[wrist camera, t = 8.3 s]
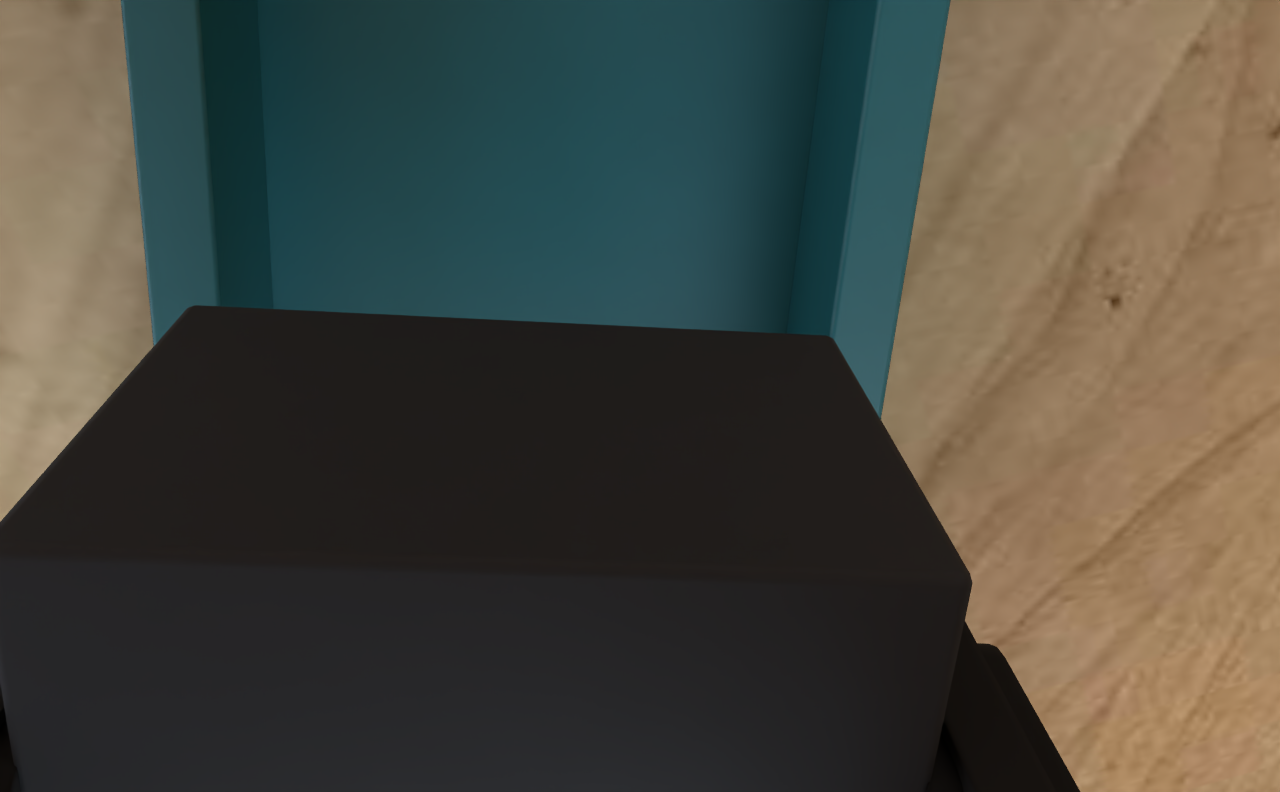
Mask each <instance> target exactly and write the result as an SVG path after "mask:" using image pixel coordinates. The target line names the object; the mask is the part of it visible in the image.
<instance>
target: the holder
mask: <svg viewBox="0 0 1280 792" xmlns="http://www.w3.org/2000/svg"><path fill="white" fill-rule="evenodd" d="M950 1H951V0H121V7H122V18H123V28H124V39H125V49H126V60H127V70H128V81H129V91H130V102H131V112H132V123H133V133H134V144H135V154H136V165H137V175H138V186H139V197H140V207H141V218H142V228H143V239H144V249H145V260H146V270H147V281H148V291H149V302H150V312H151V323H152V333H153V344H154V346H155V344H156V343H157V342H158V341H159V340H160V339H161V338H162V336H163V335H164V334H165V333H166V332H167V331H168V330H169V328H170V327H171V326H172V325H173V324H174V323H175V322H176V320H177V319H178V318H179V317H180V316H181V315H182V314H183V312H184V311H185V310H186V309H187V308H188V307H191V306H194V305H201V306H222V307H243V308H264V309H285V310H306V311H326V312H347V313H368V314H389V315H410V316H430V317H451V318H472V319H493V320H514V321H535V322H555V323H576V324H597V325H618V326H639V327H660V328H680V329H701V330H722V331H743V332H764V333H784V334H805V335H826V336H829V337H831V338H833V339H834V340H835V342H836V344H837V346H838V347H839V349H840V351H841V353H842V354H843V356H844V358H845V359H846V361H847V363H848V365H849V366H850V368H851V370H852V371H853V373H854V375H855V377H856V378H857V380H858V382H859V384H860V385H861V387H862V389H863V390H864V392H865V394H866V396H867V397H868V399H869V401H870V402H871V404H872V406H873V408H874V409H875V411H876V413H877V415H878V416H879V418H880V420H881V415H882V409H883V403H884V397H885V391H886V385H887V379H888V373H889V367H890V361H891V355H892V349H893V343H894V337H895V331H896V325H897V319H898V313H899V307H900V301H901V295H902V289H903V283H904V277H905V271H906V265H907V259H908V253H909V247H910V241H911V235H912V229H913V223H914V217H915V211H916V205H917V199H918V193H919V187H920V181H921V175H922V169H923V163H924V157H925V151H926V145H927V139H928V133H929V127H930V121H931V115H932V109H933V103H934V97H935V91H936V85H937V79H938V73H939V67H940V61H941V55H942V49H943V43H944V37H945V31H946V25H947V19H948V13H949V7H950Z"/></svg>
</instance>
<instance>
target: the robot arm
mask: <svg viewBox="0 0 1280 792" xmlns="http://www.w3.org/2000/svg"><path fill="white" fill-rule="evenodd" d="M0 792H21V788H20V782H19V776H18V770H17V767H16V766H14V763H13V757H12V751H11V745H10V739H9V733H8V727H7V721H6V715H5V709H4V703H3V697H2V691H1V685H0ZM926 792H1080V790H1079V789H1078V787H1077V785H1076V783H1075V781H1074V780H1073V778H1072V776H1071V774H1070V772H1069V771H1068V769H1067V767H1066V765H1065V764H1064V762H1063V760H1062V758H1061V756H1060V755H1059V753H1058V751H1057V749H1056V748H1055V746H1054V744H1053V742H1052V740H1051V739H1050V737H1049V735H1048V733H1047V732H1046V730H1045V728H1044V726H1043V724H1042V723H1041V721H1040V719H1039V717H1038V715H1037V714H1036V712H1035V710H1034V708H1033V707H1032V705H1031V703H1030V701H1029V699H1028V698H1027V696H1026V694H1025V692H1024V691H1023V689H1022V687H1021V685H1020V683H1019V682H1018V680H1017V678H1016V676H1015V675H1014V673H1013V671H1012V669H1011V667H1010V666H1009V664H1008V662H1007V660H1006V658H1005V657H1004V656H1003V654H1002V653H1001V652H1000V650H999V649H998V648H997V647H995V646H993V645H990V644H977V643H976V641H975V639H974V637H973V635H972V633H971V631H970V630H969V628H968V626H967V624H966V622H965V621H964V626H963V631H962V635H961V640H960V645H959V650H958V654H957V659H956V664H955V669H954V673H953V678H952V683H951V688H950V692H949V697H948V702H947V707H946V711H945V716H944V721H943V726H942V730H941V735H940V740H939V745H938V749H937V754H936V759H935V764H934V768H933V773H932V778H931V782H929V783H928V785H927V789H926Z"/></svg>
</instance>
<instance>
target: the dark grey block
mask: <svg viewBox="0 0 1280 792" xmlns="http://www.w3.org/2000/svg"><path fill="white" fill-rule="evenodd" d="M971 588H972V580H971V576H970V573H969V571H968V570H967V568H966V566H965V564H964V563H963V561H962V559H961V557H960V556H959V554H958V552H957V551H956V549H955V547H954V545H953V544H952V542H951V540H950V539H949V537H948V535H947V533H946V532H945V530H944V528H943V526H942V525H941V523H940V521H939V520H938V518H937V516H936V514H935V513H934V511H933V509H932V508H931V506H930V504H929V502H928V501H927V499H926V497H925V495H924V494H923V492H922V490H921V489H920V487H919V485H918V483H917V482H916V480H915V478H914V477H913V475H912V473H911V471H910V470H909V468H908V466H907V464H906V463H905V461H904V459H903V458H902V456H901V454H900V452H899V451H898V449H897V447H896V446H895V444H894V442H893V440H892V439H891V437H890V435H889V433H888V432H887V430H886V428H885V427H884V425H883V423H882V421H881V420H880V418H879V416H878V415H877V413H876V411H875V409H874V408H873V406H872V404H871V402H870V401H869V399H868V397H867V396H866V394H865V392H864V390H863V389H862V387H861V385H860V384H859V382H858V380H857V378H856V377H855V375H854V373H853V371H852V370H851V368H850V366H849V365H848V363H847V361H846V359H845V358H844V356H843V354H842V353H841V351H840V349H839V347H838V346H837V344H836V342H835V340H834V339H833V338H831V337H829V336H826V335H805V334H784V333H764V332H743V331H722V330H701V329H680V328H660V327H639V326H618V325H597V324H576V323H555V322H535V321H514V320H493V319H472V318H451V317H430V316H410V315H389V314H368V313H347V312H326V311H306V310H285V309H264V308H243V307H222V306H201V305H194V306H191V307H188V308H187V309H186V310H185V311H184V312H183V314H182V315H181V316H180V317H179V318H178V319H177V320H176V322H175V323H174V324H173V325H172V326H171V327H170V328H169V330H168V331H167V332H166V333H165V334H164V335H163V336H162V338H161V339H160V340H159V341H158V342H157V343H156V344H155V346H154V347H153V348H152V349H151V350H150V351H149V352H148V354H147V355H146V356H145V357H144V358H143V359H142V360H141V362H140V363H139V364H138V365H137V366H136V367H135V368H134V370H133V371H132V372H131V373H130V374H129V375H128V376H127V378H126V379H125V380H124V381H123V382H122V383H121V384H120V386H119V387H118V388H117V389H116V390H115V391H114V393H113V394H112V395H111V396H110V397H109V398H108V399H107V401H106V402H105V403H104V404H103V405H102V406H101V407H100V409H99V410H98V411H97V412H96V413H95V414H94V415H93V417H92V418H91V419H90V420H89V421H88V422H87V423H86V425H85V426H84V427H83V428H82V429H81V430H80V431H79V433H78V434H77V435H76V436H75V437H74V438H73V439H72V441H71V442H70V443H69V444H68V445H67V446H66V447H65V449H64V450H63V451H62V452H61V453H60V454H59V455H58V457H57V458H56V459H55V460H54V461H53V462H52V463H51V465H50V466H49V467H48V468H47V469H46V470H45V471H44V473H43V474H42V475H41V476H40V477H39V478H38V480H37V481H36V482H35V483H34V484H33V485H32V486H31V488H30V489H29V490H28V491H27V492H26V493H25V494H24V496H23V497H22V498H21V499H20V500H19V501H18V502H17V504H16V505H15V506H14V507H13V508H12V509H11V510H10V512H9V513H8V514H7V515H6V516H5V517H4V518H3V520H2V521H1V522H0V685H1V691H2V697H3V703H4V709H5V715H6V721H7V727H8V733H9V739H10V745H11V751H12V757H13V763H14V766H16V767H17V770H18V776H19V782H20V788H21V792H926V789H927V785H928V783H929V782H931V778H932V773H933V768H934V764H935V759H936V754H937V749H938V745H939V740H940V735H941V730H942V726H943V721H944V716H945V711H946V707H947V702H948V697H949V692H950V688H951V683H952V678H953V673H954V669H955V664H956V659H957V654H958V650H959V645H960V640H961V635H962V631H963V626H964V621H965V616H966V612H967V607H968V602H969V597H970V592H971Z"/></svg>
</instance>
